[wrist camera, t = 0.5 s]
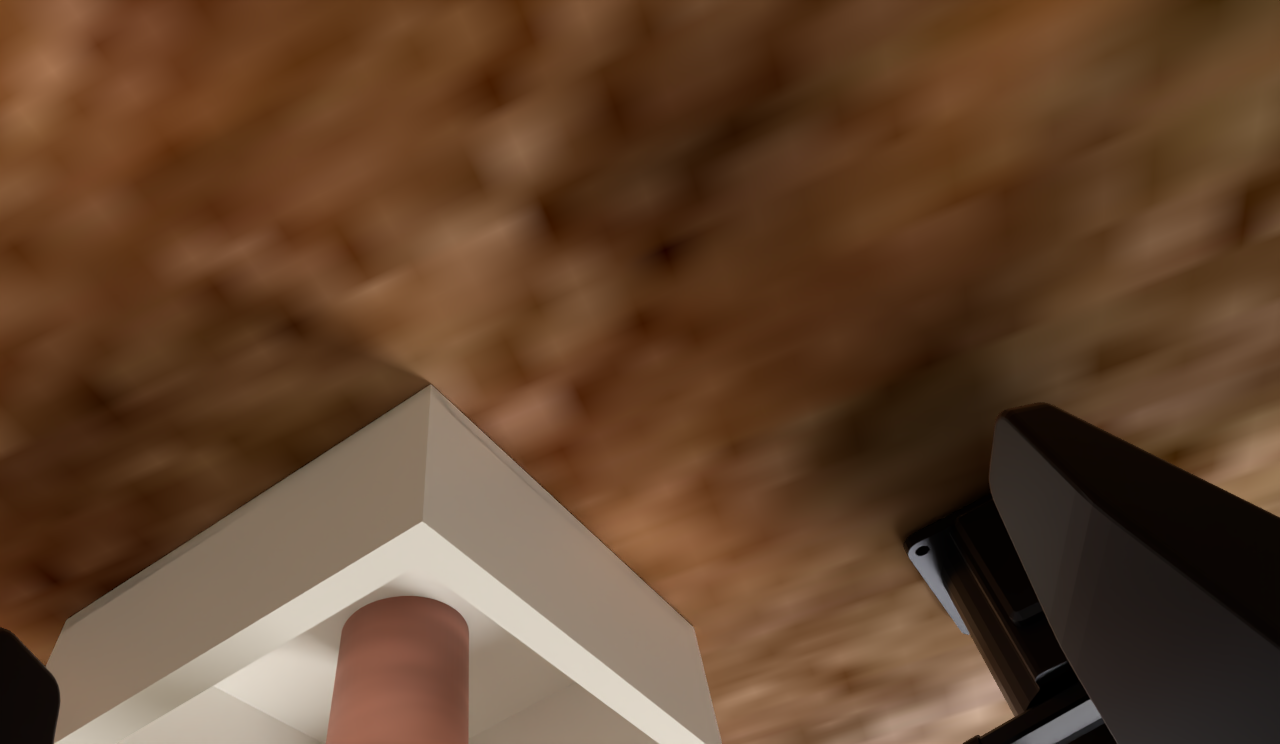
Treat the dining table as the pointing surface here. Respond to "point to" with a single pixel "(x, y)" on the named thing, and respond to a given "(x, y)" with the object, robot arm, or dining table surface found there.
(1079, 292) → the dining table surface
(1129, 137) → the dining table surface
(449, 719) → the dowel pin
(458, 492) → the square storage bin
